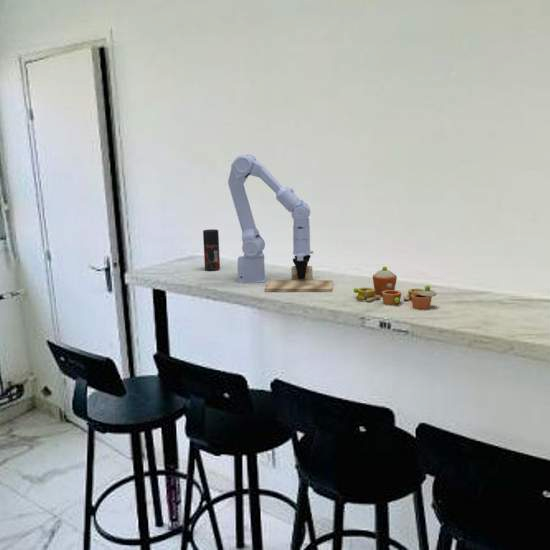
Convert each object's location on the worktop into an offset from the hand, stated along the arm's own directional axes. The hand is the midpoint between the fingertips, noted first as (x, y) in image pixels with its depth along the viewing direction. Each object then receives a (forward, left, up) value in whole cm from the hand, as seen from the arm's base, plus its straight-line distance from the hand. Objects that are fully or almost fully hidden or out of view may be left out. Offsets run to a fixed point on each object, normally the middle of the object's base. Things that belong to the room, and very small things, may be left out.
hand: (302, 277), depth 211 cm
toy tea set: (+31, -26, -2) cm, 41 cm away
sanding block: (0, 0, -1) cm, 1 cm away
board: (0, -10, -1) cm, 10 cm away
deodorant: (-37, +21, -2) cm, 43 cm away
